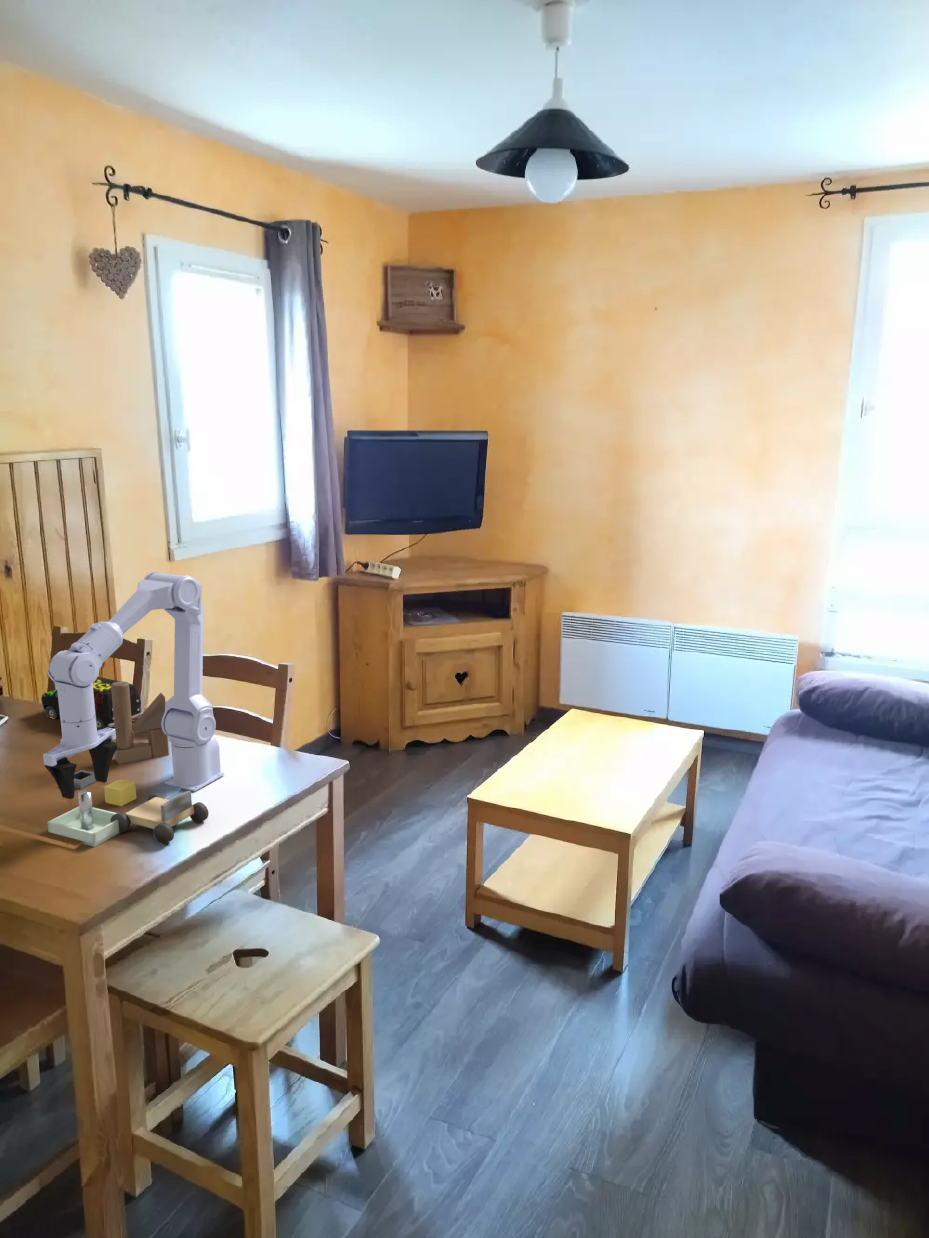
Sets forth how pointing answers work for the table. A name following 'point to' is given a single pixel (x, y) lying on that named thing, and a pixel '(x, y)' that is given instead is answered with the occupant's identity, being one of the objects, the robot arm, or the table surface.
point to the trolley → (162, 815)
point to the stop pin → (86, 810)
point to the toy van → (96, 702)
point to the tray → (71, 828)
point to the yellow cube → (120, 792)
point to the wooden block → (137, 727)
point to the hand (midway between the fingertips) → (85, 789)
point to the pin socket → (83, 779)
